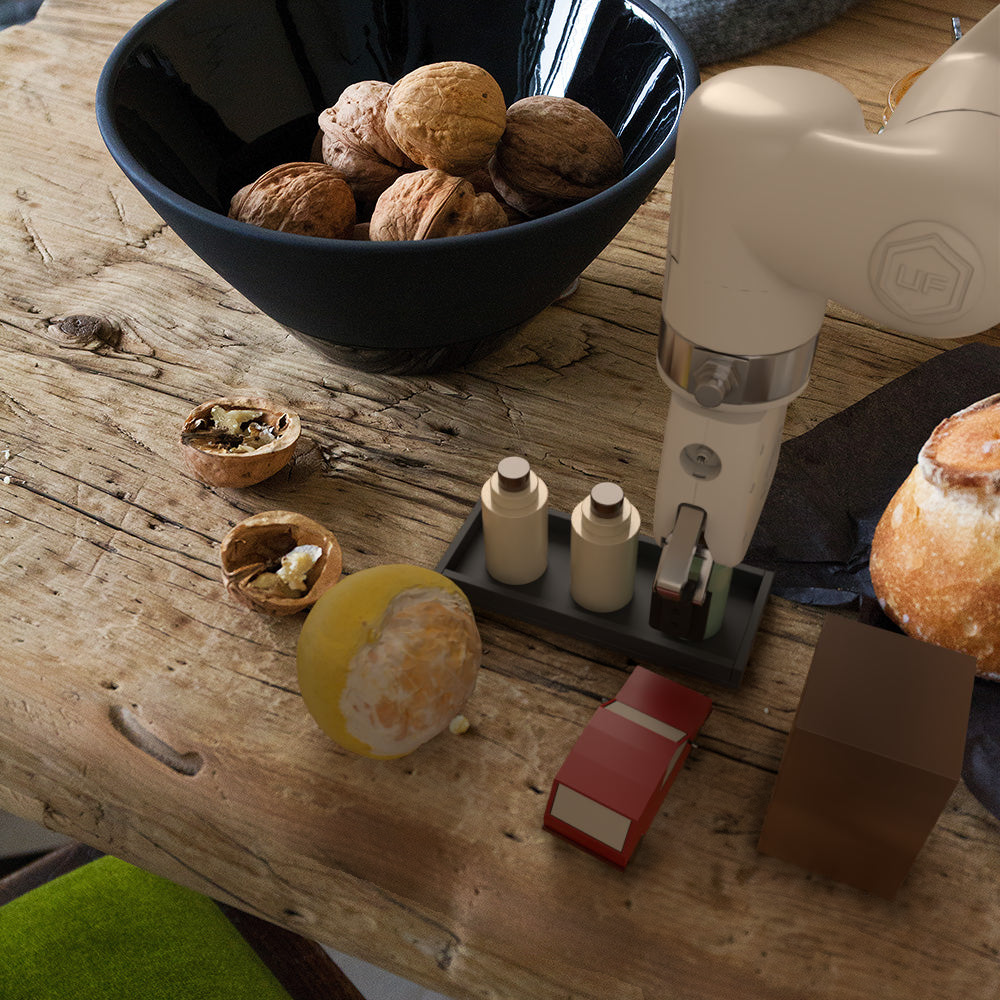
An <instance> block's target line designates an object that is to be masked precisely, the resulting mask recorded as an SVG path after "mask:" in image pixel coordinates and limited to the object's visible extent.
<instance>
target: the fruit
mask: <svg viewBox="0 0 1000 1000" xmlns="http://www.w3.org/2000/svg"><path fill="white" fill-rule="evenodd" d="M482 643H483V642H482V639H481V635H480V632H479V629H478V627H477V624H476V619H475V615H474V612H473V609H472V605H471V604H470V603H469V601H468V599H467V597H466V596H465V594H464V593H463V592H462V590H461V589H460V588H459V587H458V586H457V585H455V584H454V583H453V582H452V581H451V580H449V579H448V578H446V577H445V576H443V575H441V574H439V573H437V572H435V571H434V570H431V569H428V568H425V567H421V566H417V565H413V564H406V563H390V564H382V565H377V566H374V567H369V568H365V569H363V570H359V571H357V572H353V573H351V574H349V575H347V576H345V577H344V578H343V579H341V580H340V581H338V582H337V583H336V584H335V585H332V587H329V588H328V589H327V590H326V591H325V592H324V593H323V594H322V595H321V596H320V597H319V598H318V600H317V601H316V602H315V604H314V605H313V606H312V608H311V610H310V612H309V613H308V615H307V617H306V618H305V621H304V623H303V625H302V627H301V629H300V634H299V637H298V640H297V645H296V654H295V655H296V658H295V664H296V665H295V666H296V675H297V676H296V678H297V682H298V687H299V691H300V694H301V697H302V700H303V702H304V704H305V707H306V709H307V710H308V713H309V714H310V716H311V718H312V719H313V721H314V722H315V723H316V725H317V726H318V727H319V729H320V730H321V731H322V732H323V733H324V734H325V736H327V737H328V738H329V739H330V740H331V741H333V742H334V743H336V744H337V745H339V746H340V747H342V748H343V749H344V750H347V751H350V752H352V753H355V754H357V755H360V756H362V757H365V758H368V759H371V760H376V761H393V760H397V759H400V758H403V757H406V756H409V755H410V754H411V753H413V752H415V751H416V750H418V749H419V748H420V747H421V745H423V744H427V743H428V741H430V740H431V739H433V738H434V737H436V736H437V735H439V734H441V733H442V732H443V731H445V729H447V728H448V727H449V726H450V725H451V723H452V722H453V721H454V719H455V717H456V716H457V714H458V713H459V712H461V711H463V709H464V708H465V706H466V705H467V703H468V702H469V699H470V697H471V696H472V695H473V693H474V692H475V690H476V686H477V680H478V677H479V672H480V669H481V665H482V661H483V644H482Z"/></svg>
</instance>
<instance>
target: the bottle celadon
mask: <svg viewBox="0 0 1000 1000" xmlns="http://www.w3.org/2000/svg"><path fill="white" fill-rule="evenodd" d="M704 533H705V531H703V530H702V532H701V535H700V538H699V541H698V543H701V544H705V545H707V543H706V541H705V538H704ZM702 563H703V559H702V558H699V557H695V556H694V557H693V560H692V563H691V566H690V570H689V574H688V579H692V580H695V581H698V578H699V574H700V570H701V566H702ZM733 570H734V567H732V568H730V567H727V566H723V565H718V564H716V563H715V564H714V568H713V571H712V575H711V579H710V582H709V586H708V591H709V592H712V598H711V604H710V610H709V615H708V621H707V627H706V632H705V636H704V638H703V640H704V639H707V638H709V637H711V636H713V635H714V634H716V633H717V632H718V631H719V629H720V628H721V626H722V624H723V621H724V616H725V611H726V605H727V600H728V595H729V590H730V585H731V580H732V575H733ZM679 639H683V640H687V639H684V638H679ZM688 641H691V640H688Z"/></svg>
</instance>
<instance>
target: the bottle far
mask: <svg viewBox="0 0 1000 1000" xmlns="http://www.w3.org/2000/svg"><path fill="white" fill-rule="evenodd" d="M496 469H497V470H496V471H495V472H494V473H493V474H492V475H491V477H489V479H487V480H486V481H485V483H483V486H482V488H481V489H480V497H481V505H482V521H483V537H484V553H485V565H486V568H487V571H488V572H489V574H490V575H491V576H492V577H493V578H495V579H496V580H498V581H500V582H502V583H505V584H510V585H522V584H527V583H530V582H533V581H535V580H536V579H538V578H539V577H540V576H541V575H542V574H543V573H544V572H545V570H546V568H547V565H548V508H549V490H548V487H547V484H546V483H545V482H544V480H543V479H542V478H541V477H540V476H539V475H538V476H537V474H536V473H535V472H534V471H533V470H532V469H531V465H530V463H529V461H528V460H527V459H525V458H524V457H521V456H507V457H505V458H503V459H501V460H500V461H499V463H498V464H497V466H496Z"/></svg>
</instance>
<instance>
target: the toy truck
mask: <svg viewBox="0 0 1000 1000" xmlns="http://www.w3.org/2000/svg"><path fill="white" fill-rule="evenodd" d="M600 702H601V705H599V706H598V707H597V709H596V710H595V712H594V714H593V715H592V717H591V718H590V719H589V721H588V722H587V725H585V727H584V729H583V730H582V732H581V734H580V735H579V738H577V740H576V742H575V744H574V745H573V747H572V748H571V750H570V751H569V753H568V755H567V756H566V758H565V760H564V761H563V762H562V764H561V766H560V767H559V769H558V771H557V773H556V775H555V776H554V778H553V781H552V785H551V788H550V791H549V794H548V795H549V796H548V799H547V802H546V806H545V809H544V812H543V823H542V824H541V830H542V831H544V832H545V833H548V834H550V835H551V836H553V837H555V838H557V839H559V840H560V841H562V842H564V843H566V844H567V845H570V846H572V847H574V848H575V849H577V850H578V851H581V852H582V853H585V854H586V855H588V856H590V857H592V858H593V859H596V860H597V861H599V862H601V863H603V864H604V865H607V866H609V867H610V868H612V869H614V870H616V871H618V872H619V873H621V874H623V875H624V874H625V872H626V869H627V867H628V868H630V867H631V866H632V864H633V863H634V861H635V859H636V858H637V855H638V853H639V850H640V848H641V846H642V843H643V840H644V836H646V834H647V832H648V830H649V828H650V827H651V825H652V823H653V821H654V819H655V817H656V815H657V814H658V812H659V810H660V808H661V806H662V804H663V802H664V800H665V799H666V797H667V795H668V793H669V791H670V790H671V788H672V786H673V784H674V782H675V779H676V778H677V776H678V774H679V773H680V771H681V769H682V768H683V766H684V763H685V761H686V760H687V758H688V756H689V755H691V753H692V752H693V751H694V749H699V746H700V742H698V740H699V738H700V736H701V732H702V729H703V727H705V725H706V724H707V722H708V721H709V719H710V717H711V716H712V715H713V713H714V711H715V710H716V707H714V706H713V699H712V697H711V696H710V695H709V694H708V693H707V694H706V693H700V692H697V691H695V690H693V689H691V688H689V687H686V686H684V685H682V684H680V683H678V682H676V681H673V680H671V679H668V678H667V677H664V676H662V675H660V674H658V673H655V672H653V671H651V670H649V669H648V668H647V666H645V665H641V666H640V665H636V667H635V668H634V670H633V671H632V673H631V674H630V675H629V677H628V678H627V680H626V681H625V683H624V684H623V685H622V687H621V688H620V689H619V691H618V692H617V694H615V697H613V698H611V699H610V700H609V699H608V698H605V697H603V698H602V699H601V700H600Z"/></svg>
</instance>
